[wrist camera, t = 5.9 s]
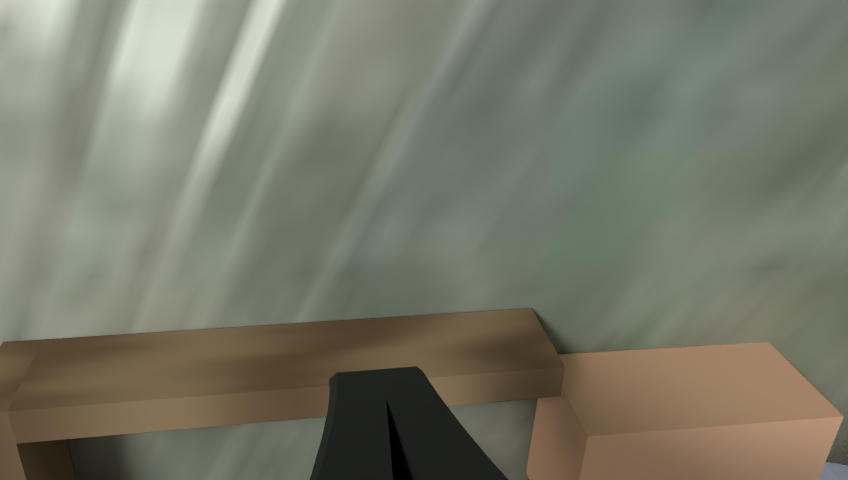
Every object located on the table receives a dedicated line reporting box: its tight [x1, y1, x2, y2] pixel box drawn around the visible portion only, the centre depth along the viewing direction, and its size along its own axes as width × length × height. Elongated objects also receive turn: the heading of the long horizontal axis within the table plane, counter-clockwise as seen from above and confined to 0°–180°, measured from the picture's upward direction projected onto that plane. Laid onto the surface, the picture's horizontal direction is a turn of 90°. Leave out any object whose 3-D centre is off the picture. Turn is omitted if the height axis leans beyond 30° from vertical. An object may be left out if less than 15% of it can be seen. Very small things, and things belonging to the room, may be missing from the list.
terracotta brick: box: [526, 342, 844, 480], centre depth 24 cm, size 8×5×4 cm, turn 87°
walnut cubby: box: [0, 308, 565, 480], centre depth 22 cm, size 15×9×3 cm, turn 88°
